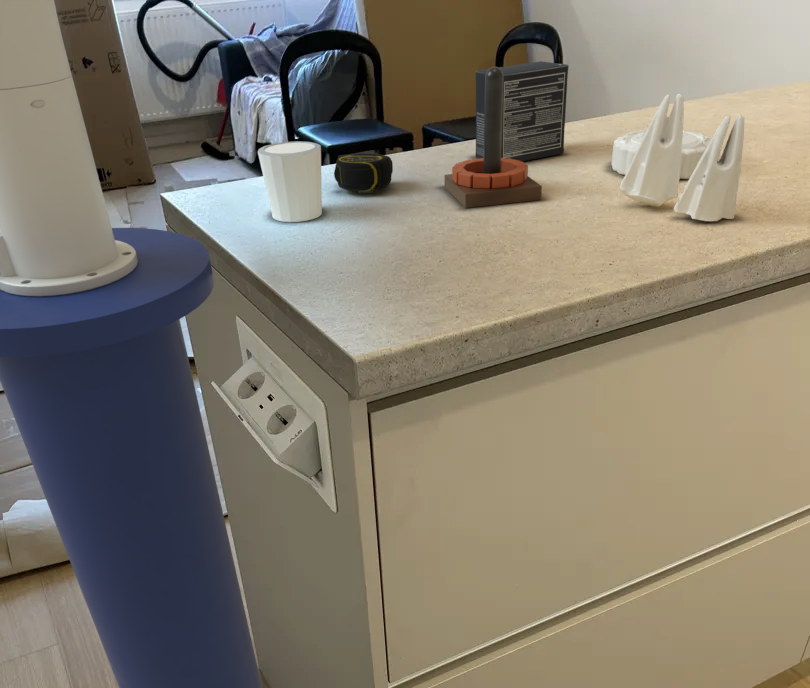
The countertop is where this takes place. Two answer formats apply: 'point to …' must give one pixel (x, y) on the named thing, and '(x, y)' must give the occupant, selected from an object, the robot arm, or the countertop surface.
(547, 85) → the small box
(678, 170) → the shaker set
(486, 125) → the stand
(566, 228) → the countertop surface
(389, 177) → the tape measure
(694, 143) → the mooncake
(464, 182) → the ring
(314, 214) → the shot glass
